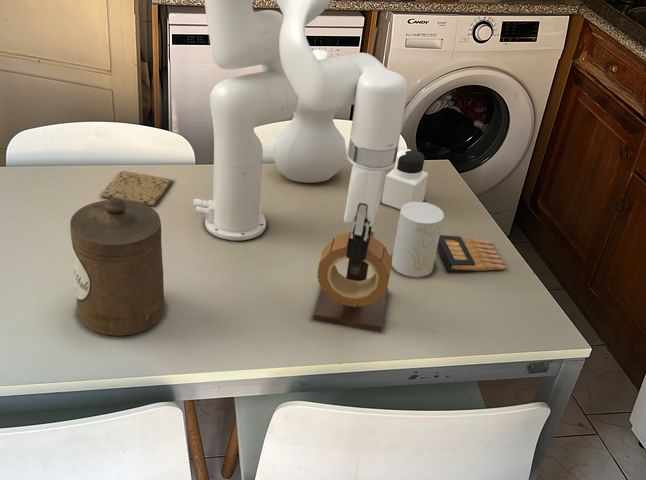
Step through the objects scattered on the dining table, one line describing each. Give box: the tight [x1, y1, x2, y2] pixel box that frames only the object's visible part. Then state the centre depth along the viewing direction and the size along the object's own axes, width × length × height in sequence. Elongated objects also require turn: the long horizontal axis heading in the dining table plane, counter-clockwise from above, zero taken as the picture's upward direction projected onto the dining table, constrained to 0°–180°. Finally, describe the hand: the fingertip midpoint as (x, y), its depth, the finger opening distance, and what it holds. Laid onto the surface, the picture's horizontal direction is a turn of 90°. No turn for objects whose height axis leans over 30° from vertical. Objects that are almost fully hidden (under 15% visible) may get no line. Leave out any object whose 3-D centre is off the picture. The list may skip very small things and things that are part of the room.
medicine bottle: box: [381, 148, 429, 210], centre depth 177 cm, size 7×7×12 cm
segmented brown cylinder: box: [316, 231, 392, 307], centre depth 139 cm, size 12×5×12 cm, turn 78°
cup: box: [391, 201, 445, 278], centre depth 157 cm, size 8×8×12 cm
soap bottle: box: [272, 49, 347, 184], centre depth 180 cm, size 17×12×29 cm
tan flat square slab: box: [101, 170, 173, 207], centre depth 178 cm, size 12×12×1 cm
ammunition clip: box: [437, 234, 508, 273], centre depth 163 cm, size 11×2×12 cm
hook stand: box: [313, 230, 389, 333], centre depth 144 cm, size 12×13×13 cm
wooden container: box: [69, 197, 165, 337], centre depth 136 cm, size 15×15×22 cm
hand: (357, 248), depth 137 cm, fingers closed on segmented brown cylinder, 4 cm apart
